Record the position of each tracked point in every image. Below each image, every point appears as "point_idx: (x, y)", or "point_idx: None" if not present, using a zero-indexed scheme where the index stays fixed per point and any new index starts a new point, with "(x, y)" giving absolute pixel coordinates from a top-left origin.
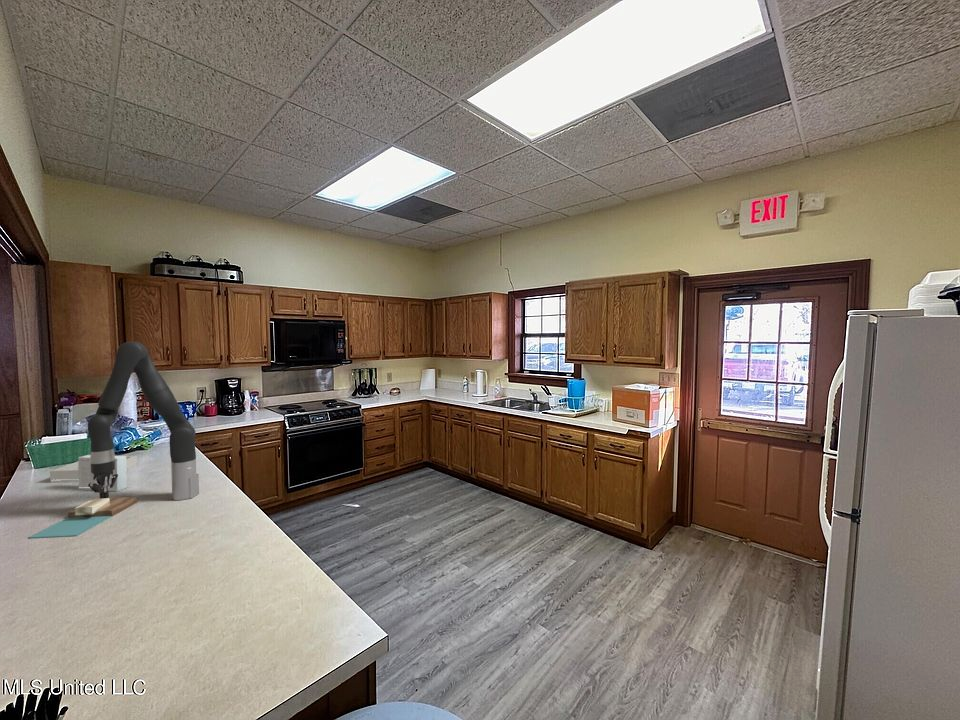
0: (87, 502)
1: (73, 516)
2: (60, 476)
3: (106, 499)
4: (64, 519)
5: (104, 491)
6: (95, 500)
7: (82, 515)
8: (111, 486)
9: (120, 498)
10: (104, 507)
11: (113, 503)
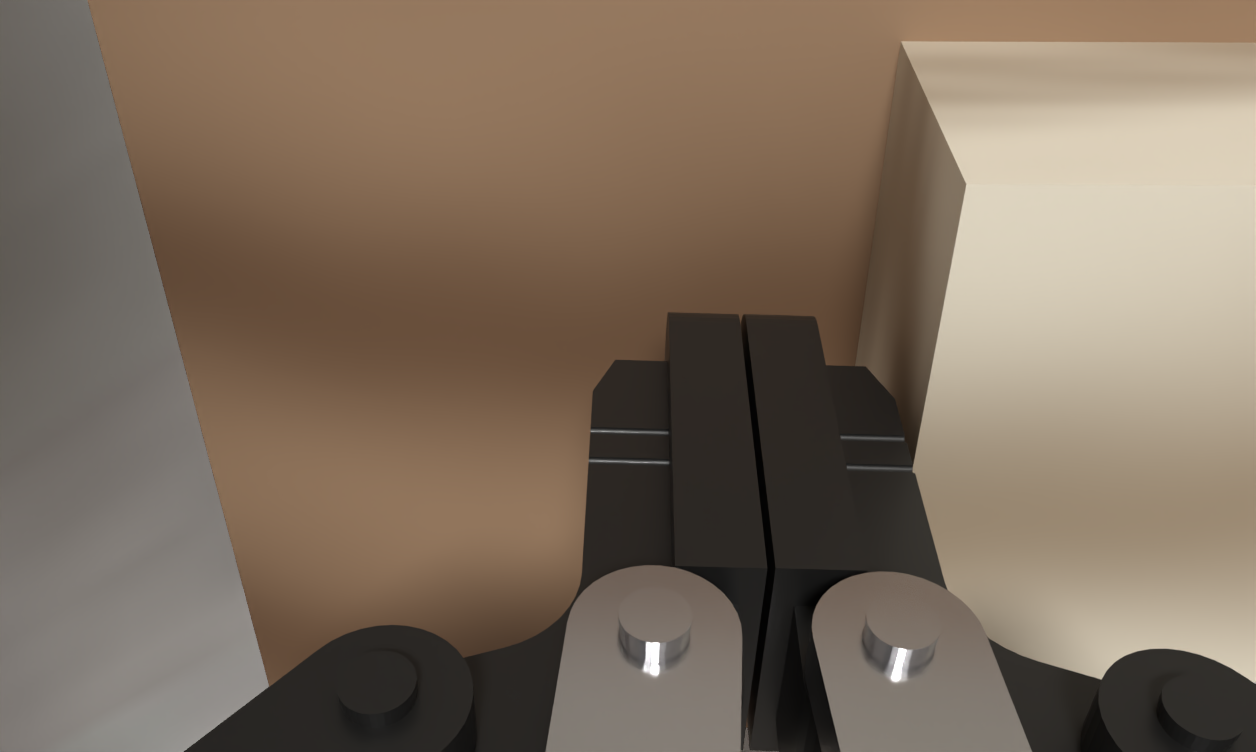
0: (1251, 643)
1: None
2: None
3: (1142, 200)
4: None
5: (978, 631)
6: (1119, 531)
7: None
8: (429, 706)
9: (201, 104)
10: (1190, 48)
11: (752, 2)
